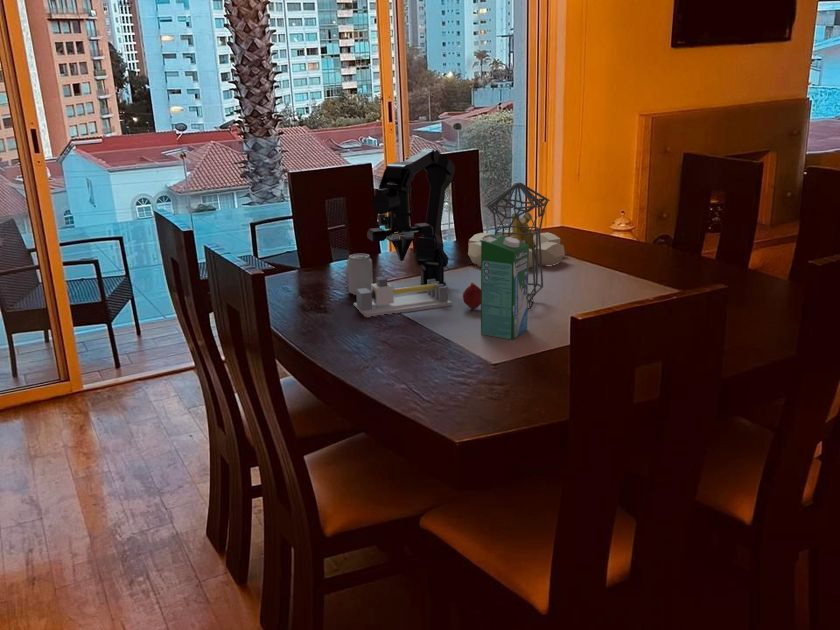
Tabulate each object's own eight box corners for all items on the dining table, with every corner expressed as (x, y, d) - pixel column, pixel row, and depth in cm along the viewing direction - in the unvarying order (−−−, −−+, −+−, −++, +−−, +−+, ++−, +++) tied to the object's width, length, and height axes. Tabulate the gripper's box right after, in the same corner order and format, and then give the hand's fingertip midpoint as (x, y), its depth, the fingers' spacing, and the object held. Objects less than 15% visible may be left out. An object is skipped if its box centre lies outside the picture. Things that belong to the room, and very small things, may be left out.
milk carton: (512, 340, 191) (514, 242, 184) (480, 334, 196) (480, 239, 188) (527, 329, 199) (529, 235, 191) (496, 324, 203) (497, 232, 196)
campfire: (570, 271, 255) (572, 220, 250) (469, 273, 256) (469, 223, 251) (554, 247, 288) (556, 202, 283) (465, 249, 289) (464, 204, 284)
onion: (485, 307, 218) (485, 280, 215) (480, 313, 213) (480, 285, 210) (466, 305, 220) (465, 279, 217) (460, 311, 215) (460, 284, 212)
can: (369, 297, 231) (367, 258, 227) (345, 296, 232) (343, 257, 228) (376, 290, 237) (374, 252, 234) (352, 289, 239) (350, 252, 235)
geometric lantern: (484, 309, 216) (483, 185, 206) (498, 295, 230) (498, 179, 220) (539, 313, 211) (541, 186, 201) (550, 299, 225) (552, 179, 215)
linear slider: (435, 294, 231) (435, 275, 229) (451, 305, 220) (451, 285, 218) (353, 306, 222) (352, 286, 220) (366, 317, 211) (365, 296, 210)
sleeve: (387, 298, 222) (387, 275, 219) (393, 303, 217) (392, 279, 215) (371, 300, 220) (370, 277, 218) (377, 305, 215) (376, 281, 213)
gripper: (419, 201, 229) (420, 251, 234) (360, 206, 223) (362, 258, 228) (433, 206, 220) (434, 259, 224) (372, 213, 213) (374, 267, 218)
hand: (401, 260), depth 224 cm, fingers closed
